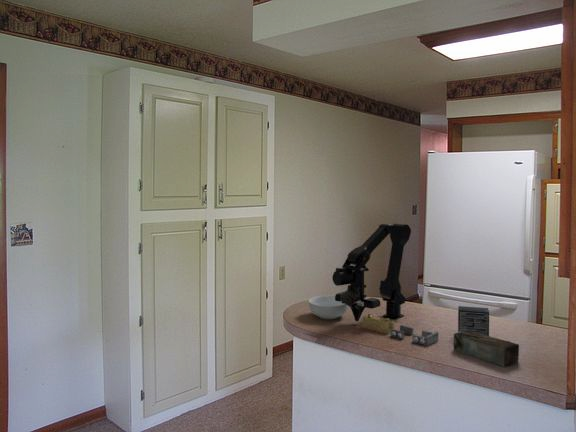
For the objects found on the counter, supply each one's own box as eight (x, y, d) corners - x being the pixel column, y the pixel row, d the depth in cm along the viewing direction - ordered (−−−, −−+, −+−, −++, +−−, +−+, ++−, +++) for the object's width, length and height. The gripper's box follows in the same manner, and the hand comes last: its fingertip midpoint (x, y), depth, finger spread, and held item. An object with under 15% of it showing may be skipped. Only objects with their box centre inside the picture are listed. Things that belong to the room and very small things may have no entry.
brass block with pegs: (367, 325, 187) (367, 312, 186) (393, 332, 178) (394, 318, 178) (362, 327, 184) (362, 314, 184) (388, 334, 176) (389, 320, 175)
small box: (487, 335, 174) (488, 307, 173) (489, 340, 167) (490, 312, 167) (457, 332, 177) (458, 305, 176) (458, 337, 171) (458, 309, 170)
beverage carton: (467, 345, 163) (467, 327, 163) (520, 363, 147) (520, 342, 147) (452, 350, 159) (453, 331, 158) (505, 369, 143) (506, 348, 142)
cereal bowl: (300, 316, 199) (300, 300, 199) (327, 309, 211) (327, 293, 210) (329, 325, 187) (329, 307, 186) (356, 316, 198) (356, 300, 198)
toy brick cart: (402, 331, 179) (402, 323, 178) (439, 340, 168) (439, 332, 168) (389, 336, 172) (389, 328, 172) (427, 346, 162) (427, 338, 162)
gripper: (326, 282, 188) (326, 320, 189) (364, 289, 175) (364, 330, 176) (343, 278, 196) (343, 314, 197) (381, 285, 183) (381, 324, 184)
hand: (357, 320), depth 188 cm, fingers closed
